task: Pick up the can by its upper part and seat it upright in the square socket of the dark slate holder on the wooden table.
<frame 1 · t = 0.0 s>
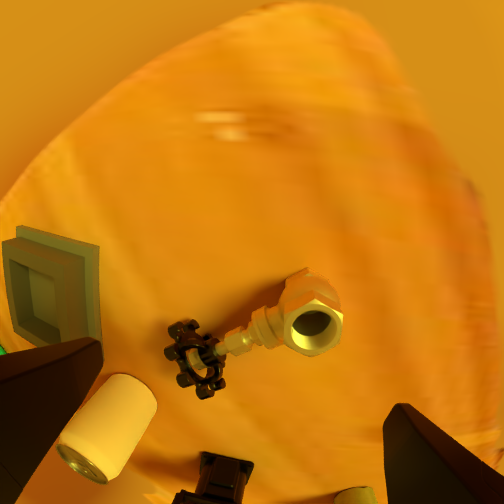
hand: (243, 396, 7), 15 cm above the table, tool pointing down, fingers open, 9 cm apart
plant pot: (353, 493, 28), on the table
socket holder: (56, 292, 25), on the table
can: (133, 392, 27), on the table
valve: (263, 311, 22), on the table
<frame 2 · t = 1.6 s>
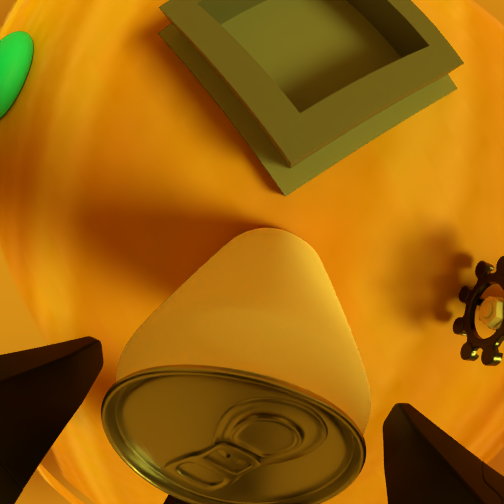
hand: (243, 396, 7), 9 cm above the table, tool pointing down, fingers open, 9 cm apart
socket holder: (310, 46, 12), on the table
can: (268, 281, 16), on the table
donuts: (10, 79, 15), on the table
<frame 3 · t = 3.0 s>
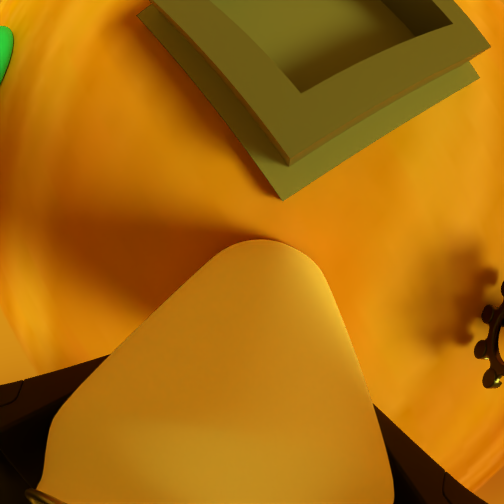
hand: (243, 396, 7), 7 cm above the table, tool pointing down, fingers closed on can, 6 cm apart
socket holder: (312, 25, 10), on the table
can: (262, 302, 13), on the table, touching gripper
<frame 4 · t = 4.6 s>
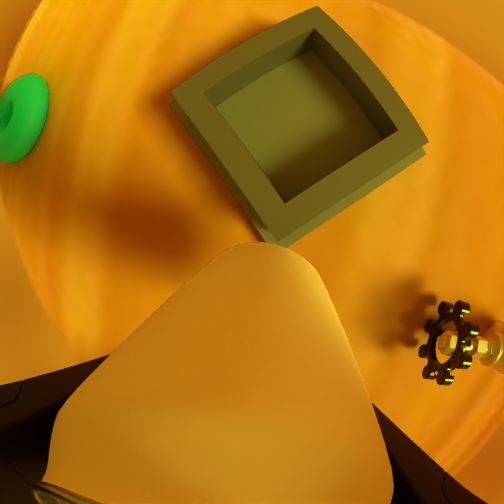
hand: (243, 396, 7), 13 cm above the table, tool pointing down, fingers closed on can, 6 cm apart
socket holder: (299, 122, 17), on the table
can: (260, 304, 14), point 6 cm above the table, touching gripper
valve: (468, 331, 19), on the table
donuts: (27, 119, 20), on the table
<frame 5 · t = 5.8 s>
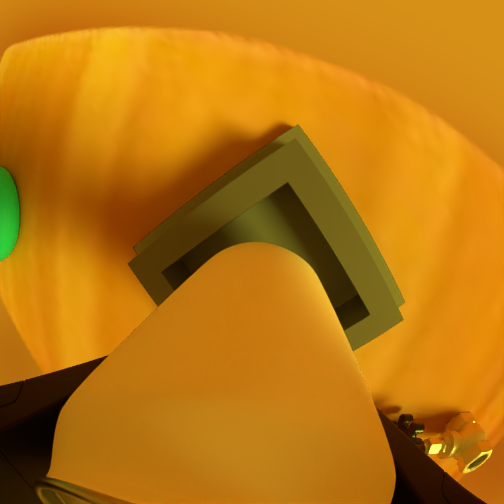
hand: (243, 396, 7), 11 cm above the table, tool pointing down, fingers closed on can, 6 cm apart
socket holder: (270, 272, 18), on the table
can: (257, 304, 14), point 4 cm above the table, touching gripper
valve: (432, 422, 20), on the table
donuts: (3, 211, 20), on the table
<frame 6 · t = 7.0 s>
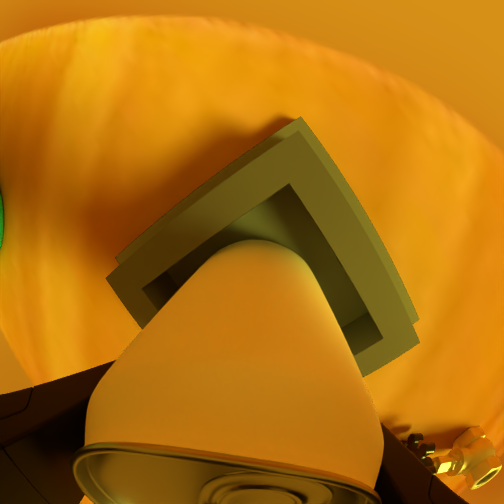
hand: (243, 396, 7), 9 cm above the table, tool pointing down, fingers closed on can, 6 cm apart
socket holder: (268, 286, 16), on the table
can: (256, 297, 15), point 1 cm above the table, touching gripper, socket holder
valve: (441, 438, 17), on the table
when the fingers open (9 cm above the table, at t = 7.1 s): can stays where it is, resting on socket holder.
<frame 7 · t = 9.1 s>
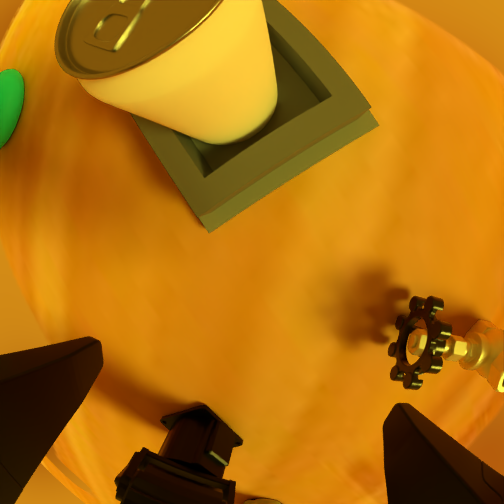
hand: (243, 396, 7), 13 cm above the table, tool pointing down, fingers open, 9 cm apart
plant pot: (264, 503, 28), on the table
socket holder: (238, 98, 17), on the table
can: (227, 99, 16), point 1 cm above the table, touching socket holder
valve: (449, 329, 19), on the table
donuts: (7, 111, 19), on the table
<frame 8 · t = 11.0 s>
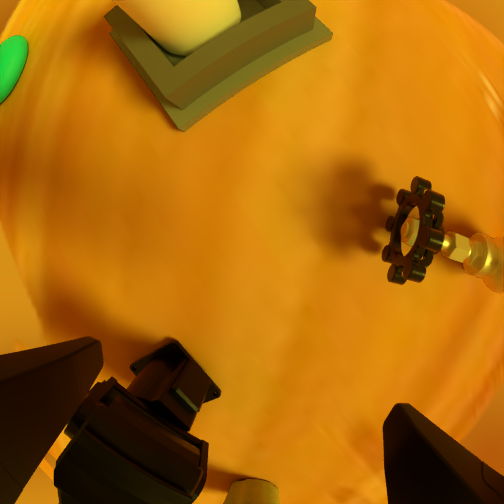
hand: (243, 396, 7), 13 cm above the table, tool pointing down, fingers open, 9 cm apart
plant pot: (255, 486, 26), on the table
socket holder: (210, 27, 16), on the table
can: (200, 26, 15), point 1 cm above the table, touching socket holder
valve: (448, 242, 18), on the table
donuts: (10, 72, 18), on the table
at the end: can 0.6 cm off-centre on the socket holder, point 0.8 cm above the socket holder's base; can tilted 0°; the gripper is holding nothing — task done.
